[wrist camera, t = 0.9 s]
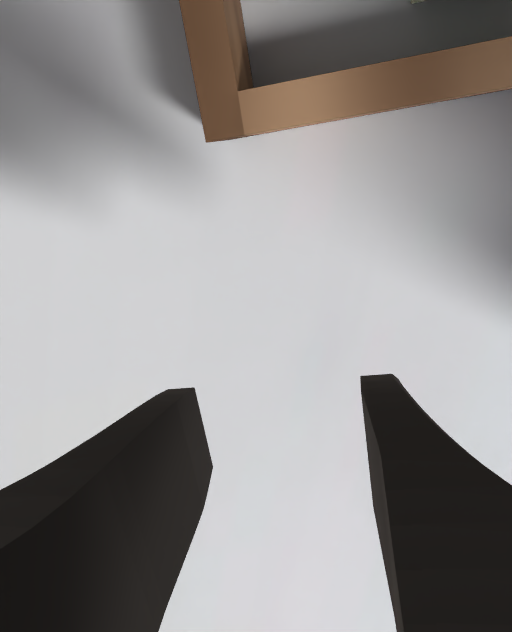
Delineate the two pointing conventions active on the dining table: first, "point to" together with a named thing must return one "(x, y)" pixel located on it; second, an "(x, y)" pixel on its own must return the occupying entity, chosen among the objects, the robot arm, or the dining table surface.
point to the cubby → (322, 79)
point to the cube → (415, 0)
